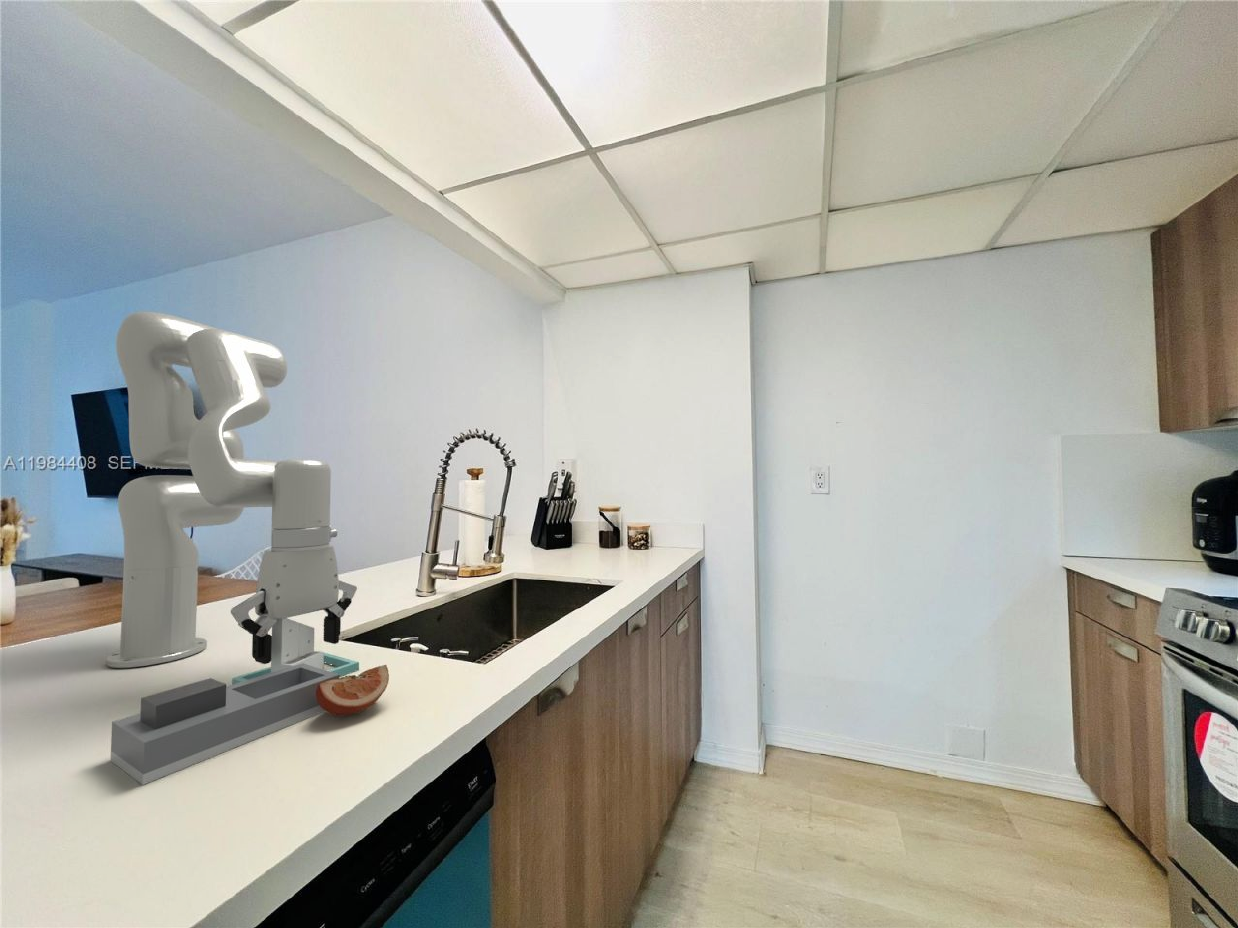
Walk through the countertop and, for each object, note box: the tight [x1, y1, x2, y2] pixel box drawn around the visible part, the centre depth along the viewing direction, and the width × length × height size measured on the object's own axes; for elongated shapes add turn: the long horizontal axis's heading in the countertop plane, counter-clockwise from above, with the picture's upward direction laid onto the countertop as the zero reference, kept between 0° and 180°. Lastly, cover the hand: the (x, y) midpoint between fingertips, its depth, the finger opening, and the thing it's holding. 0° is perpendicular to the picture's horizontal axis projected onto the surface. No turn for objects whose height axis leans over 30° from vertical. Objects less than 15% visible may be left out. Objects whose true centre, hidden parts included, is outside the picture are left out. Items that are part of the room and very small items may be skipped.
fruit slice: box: [316, 664, 390, 717], centre depth 60 cm, size 8×7×5 cm
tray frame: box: [231, 652, 360, 685], centre depth 72 cm, size 11×13×1 cm
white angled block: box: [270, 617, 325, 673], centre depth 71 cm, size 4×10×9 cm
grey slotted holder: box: [110, 663, 341, 786], centre depth 56 cm, size 9×19×6 cm, turn 151°
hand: (298, 651), depth 72 cm, fingers open, 9 cm apart
